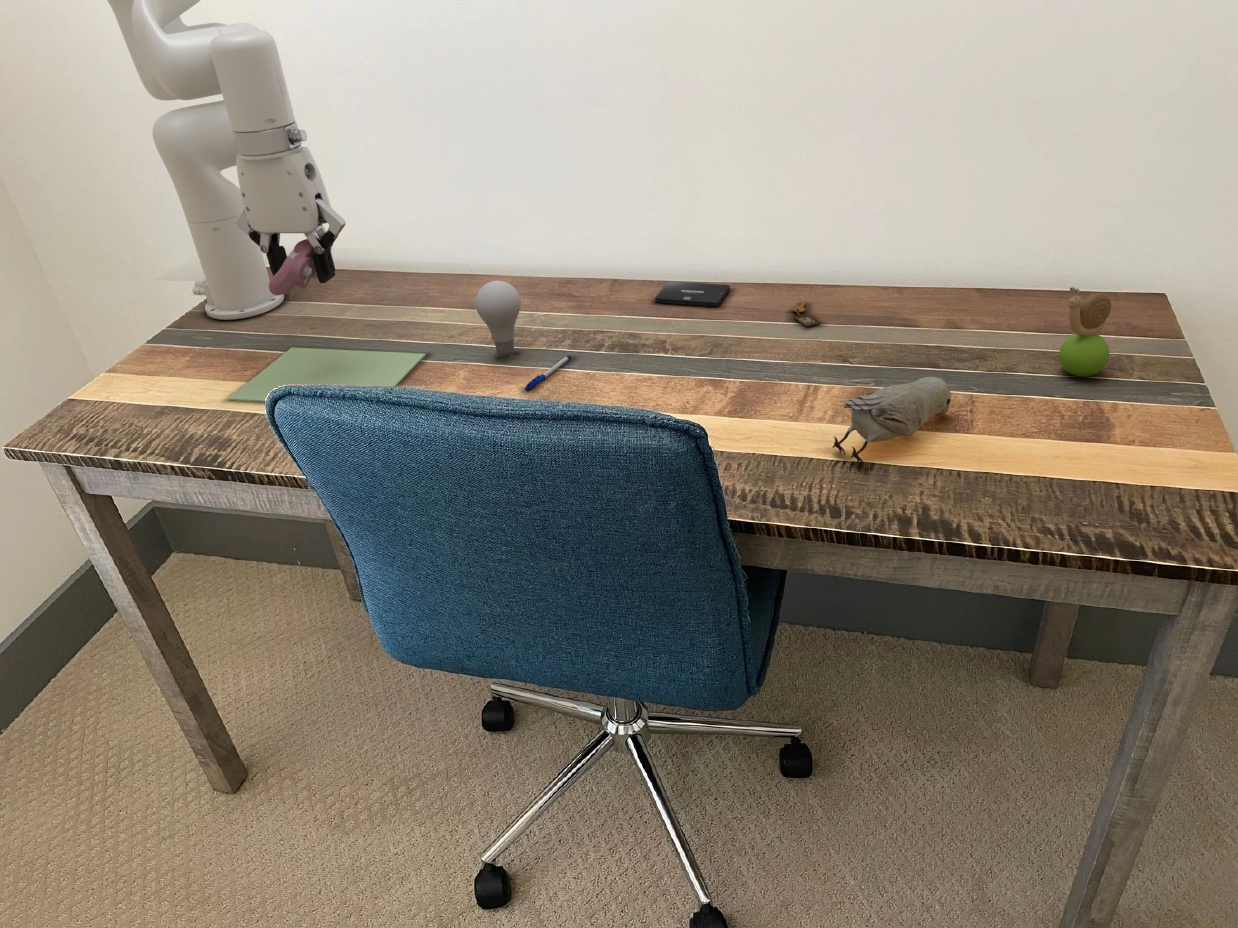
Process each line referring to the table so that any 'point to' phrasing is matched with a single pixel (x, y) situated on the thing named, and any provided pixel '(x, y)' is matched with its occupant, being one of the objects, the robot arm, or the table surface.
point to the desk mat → (329, 370)
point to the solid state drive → (692, 293)
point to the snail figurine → (1086, 335)
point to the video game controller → (295, 269)
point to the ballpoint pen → (545, 374)
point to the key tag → (804, 316)
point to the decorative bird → (896, 410)
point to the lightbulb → (499, 313)
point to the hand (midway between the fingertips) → (305, 278)
